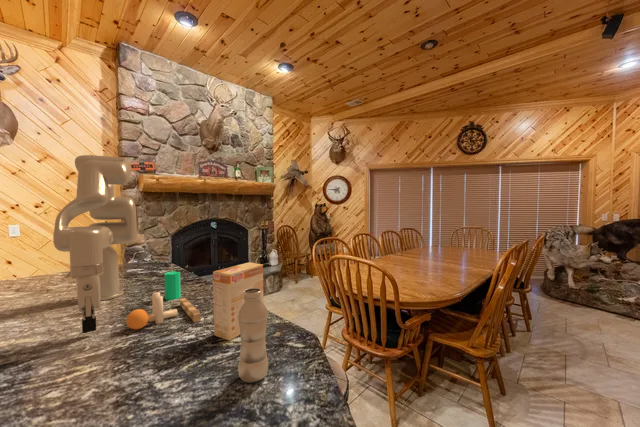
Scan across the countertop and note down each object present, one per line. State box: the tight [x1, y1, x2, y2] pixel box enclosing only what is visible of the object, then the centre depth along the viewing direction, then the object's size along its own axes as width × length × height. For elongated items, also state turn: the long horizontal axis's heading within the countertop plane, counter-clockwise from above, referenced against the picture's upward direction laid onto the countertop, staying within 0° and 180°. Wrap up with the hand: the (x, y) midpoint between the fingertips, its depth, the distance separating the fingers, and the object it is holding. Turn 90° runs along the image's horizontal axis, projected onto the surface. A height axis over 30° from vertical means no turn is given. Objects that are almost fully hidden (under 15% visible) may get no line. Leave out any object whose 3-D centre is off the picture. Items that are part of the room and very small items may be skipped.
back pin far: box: [151, 291, 161, 314], centre depth 97 cm, size 2×2×8 cm
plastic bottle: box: [237, 288, 269, 384], centre depth 63 cm, size 6×7×20 cm
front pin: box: [148, 308, 179, 323], centre depth 96 cm, size 2×2×8 cm
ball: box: [125, 308, 150, 330], centre depth 89 cm, size 6×6×6 cm
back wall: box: [179, 297, 201, 323], centre depth 102 cm, size 20×2×2 cm, turn 39°
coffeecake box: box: [212, 262, 265, 341], centre depth 88 cm, size 15×7×20 cm, turn 149°
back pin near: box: [154, 295, 165, 325], centre depth 93 cm, size 2×2×8 cm
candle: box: [163, 270, 182, 301], centre depth 118 cm, size 6×6×12 cm
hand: (89, 330), depth 84 cm, fingers closed
